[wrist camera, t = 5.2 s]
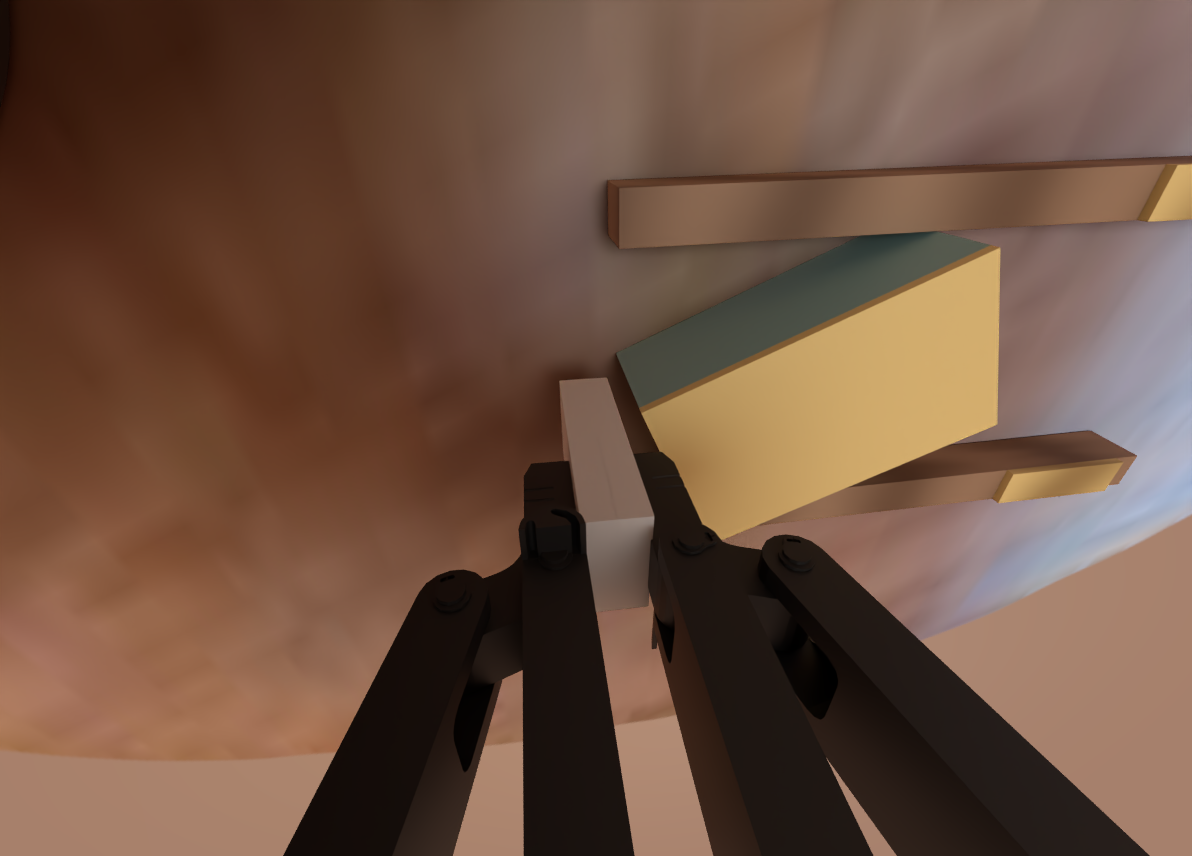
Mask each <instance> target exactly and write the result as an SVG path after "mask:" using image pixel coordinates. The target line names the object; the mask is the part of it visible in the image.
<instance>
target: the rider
mask: <svg viewBox="0 0 1192 856" xmlns="http://www.w3.org/2000/svg"><path fill="white" fill-rule="evenodd" d="M999 289H1000V247H996V246H992V245H988V244H984V243H980V242H976V241H972V240H968V239H965V238H961V237H957V236H953V235H949V234H945V233H941V232H937V231H931V232H913V233H895V234H877V235H861V236H859V237H857V238H855V239H853V240H851V241H849V242H847V243H845V244H842V245H840V246H838V247H836V248H834V249H832V250H830V251H828V252H826V253H824V254H822V255H820V256H817V257H815V258H813V259H811V260H809V261H807V262H805V263H803V264H801V265H799V266H797V267H794V268H792V269H790V270H788V271H786V272H784V273H782V274H780V275H778V276H776V277H774V278H772V279H769V280H767V281H765V282H763V283H761V284H759V285H757V286H755V287H753V288H751V289H749V290H747V291H744V292H742V293H740V294H738V295H736V296H734V297H732V298H730V299H728V300H726V301H724V302H721V303H719V304H717V305H715V306H713V307H711V308H709V309H707V310H705V311H703V312H701V313H699V314H696V315H694V316H692V317H690V318H688V319H686V320H684V321H682V322H680V323H678V324H676V325H674V326H671V327H669V328H667V329H665V330H663V331H661V332H659V333H657V334H655V335H653V336H651V337H648V338H646V339H644V340H642V341H640V342H638V343H636V344H634V345H632V346H630V347H628V348H626V349H623V350H621V351H619V352H617V353H616V354H617V357H618V359H619V362H620V364H621V366H622V369H623V371H624V373H625V376H626V378H627V380H628V383H629V385H630V388H631V390H632V392H633V395H634V397H635V399H636V402H637V404H638V406H639V409H640V411H641V413H642V416H643V418H644V420H645V422H646V424H647V426H648V428H649V430H650V432H651V434H652V436H653V438H654V441H655V443H656V445H657V447H658V449H659V451H660V452H663V453H664V454H665V455H666V456H667V457H669V458H670V459H671V460H672V461H674V463H675V465H676V467H677V469H678V472H679V474H680V477H681V478H682V480H683V482H684V486H685V487H686V489H687V491H688V493H689V496H690V498H691V500H692V502H693V504H694V506H695V509H696V511H697V513H698V515H699V517H700V520H701V522H702V524H703V525H705V526H707V527H708V528H710V529H712V530H713V531H715V533H716V534H717V535H718V536H719V538H720V539H721V540H723V539H726V538H728V537H730V536H733V535H735V534H738V533H740V532H742V531H745V530H747V529H749V528H752V527H754V526H757V525H759V524H761V523H764V522H766V521H769V520H771V519H773V518H776V517H778V516H780V515H783V514H785V513H788V512H790V511H792V510H795V509H797V508H799V507H802V506H804V505H807V504H809V503H811V502H814V501H816V500H819V499H821V498H823V497H826V496H828V495H830V494H833V493H835V492H838V491H840V490H842V489H845V488H847V487H849V486H852V485H854V484H857V483H859V482H861V481H864V480H866V479H869V478H871V477H873V476H876V475H878V474H880V473H883V472H885V471H888V470H890V469H892V468H895V467H897V466H899V465H902V464H904V463H907V462H909V461H911V460H914V459H916V458H919V457H921V456H923V455H926V454H928V453H930V452H933V451H935V450H938V449H940V448H942V447H945V446H947V445H949V444H952V443H954V442H957V441H959V440H961V439H964V438H966V437H969V436H971V435H973V434H976V433H978V432H980V431H983V430H985V429H988V428H990V427H992V426H995V425H997V404H998V346H999Z"/></svg>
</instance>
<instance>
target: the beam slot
mask: <svg viewBox="0 0 1192 856" xmlns="http://www.w3.org/2000/svg"><path fill="white" fill-rule="evenodd" d="M1186 219H1192V156H1177V157H1153V158H1129V159H1105V160H1081V161H1057V162H1033V163H1009V164H985V165H961V166H937V167H913V168H889V169H866V170H842V171H818V172H794V173H770V174H746V175H722V176H698V177H674V178H650V179H626V180H608V235H609V236H610V238H611V239H612V240H613V241H614V243H615V244H616V245H617V247H618V248H619V249H626V248H644V247H662V246H680V245H698V244H716V243H734V242H752V241H770V240H788V239H805V238H823V237H841V236H859V235H877V234H895V233H913V232H931V231H949V230H967V229H985V228H1002V227H1020V226H1038V225H1056V224H1074V223H1092V222H1110V221H1128V220H1140V221H1147V222H1151V221H1168V220H1186ZM1136 457H1137V455H1135V454H1133V453H1131V452H1129V451H1127V450H1126V449H1124V448H1122V447H1120V446H1118V445H1116V444H1114V443H1113V442H1111V441H1109V440H1107V439H1105V438H1103V437H1102V436H1100V435H1098V434H1096V433H1094V432H1092V431H1083V432H1073V433H1063V434H1053V435H1044V436H1034V437H1024V438H1014V439H1005V440H995V441H985V442H975V443H966V444H956V445H947V446H945V447H942V448H940V449H938V450H935V451H933V452H930V453H928V454H926V455H923V456H921V457H919V458H916V459H914V460H911V461H909V462H907V463H904V464H902V465H899V466H897V467H895V468H892V469H890V470H888V471H885V472H883V473H880V474H878V475H876V476H873V477H871V478H869V479H866V480H864V481H861V482H859V483H857V484H854V485H852V486H849V487H847V488H845V489H842V490H840V491H838V492H835V493H833V494H830V495H828V496H826V497H823V498H821V499H819V500H816V501H814V502H811V503H809V504H807V505H804V506H802V507H799V508H797V509H795V510H792V511H790V512H788V513H785V514H783V515H780V516H778V517H776V518H773V519H771V520H769V521H766V522H764V523H761V524H759V525H767V524H776V523H785V522H793V521H802V520H811V519H819V518H828V517H837V516H845V515H854V514H863V513H871V512H880V511H889V510H897V509H906V508H915V507H923V506H932V505H941V504H949V503H958V502H967V501H975V500H984V499H994V500H995V501H996V502H997V503H1004V502H1012V501H1021V500H1030V499H1038V498H1047V497H1055V496H1064V495H1073V494H1081V493H1090V492H1098V491H1105V489H1106V488H1107V486H1108V485H1114V484H1119V482H1120V481H1121V479H1122V478H1123V476H1124V475H1125V473H1126V472H1127V470H1128V469H1129V467H1130V466H1131V464H1132V463H1133V461H1134V460H1135V459H1136ZM759 525H757V526H759Z"/></svg>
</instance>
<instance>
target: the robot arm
mask: <svg viewBox="0 0 1192 856" xmlns="http://www.w3.org/2000/svg"><path fill="white" fill-rule="evenodd" d="M9 48H10V23H9V4H8V0H0V107H1V103H2V98H3V94H4V90H5V86H6V80H7V72H8V64H9ZM559 385H560V403H561V422H562V440H563V455H564V461H559V462H547V463H535V464H531V466H530V467H529V469H528V470H527V472H526V474H525V475H524V518H523V519H522V520H521V523H520V526H519V539H520V547H521V555H520V557H519V558H518V559H517V560H516V562H515V563H514V564H512V565H511V566H510V567H508V568H507V569H505V570H503V571H501V572H499V573H497V574H494V575H492V576H489V577H486V578H484V579H483V578H482V577H481V576H479V575H478V574H477V573H475V572H471V571H467V570H453V571H448V572H446V573H443V574H440V575H438V576H436V577H435V578H433V579H432V580H430V581H429V582H428V583H426V584H425V586H424V587H423V588H422V590H421V591H420V592H419V594H418V596H417V597H416V599H415V601H414V603H413V605H412V607H411V609H410V611H409V613H408V615H407V617H406V619H405V621H404V623H403V625H402V627H401V628H400V630H399V632H398V634H397V636H396V638H395V640H394V642H393V644H392V646H391V648H390V650H389V652H388V654H387V656H386V657H385V659H384V661H383V663H382V665H381V667H380V669H379V671H378V673H377V675H376V677H375V679H374V681H373V683H372V685H371V687H370V688H369V690H368V692H367V694H366V696H365V698H364V700H363V702H362V704H361V706H360V708H359V710H358V712H357V714H356V716H355V718H354V719H353V721H352V723H351V725H350V727H349V729H348V731H347V733H346V735H345V737H344V739H343V741H342V743H341V745H340V747H339V749H338V750H337V752H336V754H335V756H334V758H333V760H332V762H331V764H330V766H329V768H328V770H327V772H326V774H325V776H324V778H323V780H322V782H321V783H320V785H319V787H318V789H317V791H316V793H315V795H314V797H313V799H312V801H311V803H310V805H309V807H308V809H307V811H306V812H305V815H304V817H303V818H302V820H301V822H300V824H299V826H298V828H297V830H296V832H295V834H294V836H293V838H292V840H291V842H290V844H289V845H288V847H287V849H286V851H285V853H284V855H283V856H453V853H454V849H455V846H456V842H457V839H458V834H459V832H460V828H461V824H462V821H463V817H464V814H465V810H466V807H467V803H468V800H469V796H470V793H471V789H472V786H473V782H474V778H475V775H476V772H477V768H478V764H479V760H480V757H481V754H482V750H483V747H484V743H485V740H486V736H487V733H488V729H489V726H490V722H491V719H492V715H493V712H494V708H495V705H496V701H497V697H498V694H499V690H500V687H501V683H502V679H504V678H506V677H508V676H510V675H513V674H515V673H517V672H519V671H521V670H523V795H524V796H523V800H524V801H523V803H524V805H523V808H524V856H634V851H633V843H632V838H631V831H630V824H629V818H628V812H627V805H626V799H625V792H624V787H623V780H622V773H621V767H620V761H619V755H618V748H617V742H616V735H615V729H614V723H613V716H612V710H611V704H610V697H609V691H608V685H607V678H606V672H605V666H604V659H603V653H602V647H601V640H600V634H599V628H598V621H597V615H596V612H603V611H611V610H620V609H629V608H637V607H646V606H648V605H649V592H650V596H651V599H652V603H653V607H654V615H653V628H652V649H656V648H657V642H658V646H659V650H660V654H661V658H662V661H663V665H664V669H665V673H666V677H667V680H668V684H669V688H670V692H671V696H672V700H673V703H674V707H675V711H676V715H677V719H678V722H679V726H680V730H681V734H682V737H683V742H684V745H685V749H686V753H687V757H688V761H689V764H690V768H691V772H692V776H693V780H694V784H695V787H696V791H697V795H698V799H699V802H700V806H701V810H702V814H703V818H704V821H705V826H706V829H707V833H708V837H709V841H710V845H711V849H712V852H713V856H873V854H872V852H871V850H870V848H869V846H868V844H867V842H866V839H865V837H864V835H863V833H862V831H861V830H860V827H859V825H858V823H857V821H856V819H855V817H854V815H853V813H852V811H851V809H850V806H849V805H848V802H847V800H846V798H845V796H844V794H843V792H842V790H841V788H840V786H839V784H838V781H837V779H836V777H835V775H834V773H833V771H832V769H831V767H830V765H829V763H828V761H827V759H828V760H829V762H830V763H831V765H832V766H833V767H834V769H835V770H836V771H837V773H838V774H839V776H840V777H841V779H842V780H843V781H844V783H845V784H846V786H847V787H848V788H849V790H850V791H851V792H852V794H853V795H854V797H855V798H856V799H857V801H858V802H859V804H860V805H861V806H862V808H863V809H864V811H865V812H866V813H867V815H868V816H869V817H870V819H871V820H872V821H873V823H874V824H875V826H876V827H877V829H878V830H879V831H880V833H881V834H882V835H883V837H884V838H885V840H886V841H887V843H888V844H889V845H890V847H891V848H892V849H893V851H894V852H895V853H896V855H897V856H1149V855H1148V854H1147V853H1146V852H1145V851H1144V850H1143V849H1142V848H1141V847H1140V846H1139V845H1138V844H1137V843H1136V842H1135V841H1133V840H1132V839H1131V838H1130V837H1129V836H1128V835H1127V834H1126V833H1125V832H1124V831H1123V830H1122V829H1121V828H1120V827H1118V826H1117V825H1116V824H1115V823H1114V822H1113V821H1112V820H1111V819H1110V818H1109V817H1108V816H1107V815H1106V814H1105V813H1104V812H1102V811H1101V810H1100V809H1099V808H1098V807H1097V806H1096V805H1095V804H1094V803H1093V802H1092V801H1091V800H1090V799H1089V798H1087V797H1086V796H1085V795H1084V794H1083V793H1082V792H1081V791H1080V790H1079V789H1078V788H1077V787H1076V786H1075V785H1074V784H1073V783H1071V782H1070V781H1069V780H1068V779H1067V778H1066V777H1065V776H1064V775H1063V774H1062V773H1061V772H1060V771H1059V770H1058V769H1057V768H1055V767H1054V766H1053V765H1052V764H1051V763H1050V762H1049V761H1048V760H1047V759H1046V758H1045V757H1044V756H1042V755H1041V754H1040V753H1039V752H1038V751H1037V750H1036V749H1035V748H1034V747H1033V746H1032V745H1031V744H1030V743H1029V742H1028V741H1027V740H1026V739H1024V738H1023V737H1022V736H1021V735H1020V734H1019V733H1018V732H1017V731H1016V730H1015V729H1014V728H1013V727H1012V726H1011V725H1010V724H1008V723H1007V722H1006V721H1005V720H1004V719H1003V718H1002V717H1001V716H1000V715H999V714H998V713H996V711H995V710H994V709H992V708H991V707H990V706H989V705H988V704H987V703H986V702H985V701H984V700H983V699H982V698H981V697H980V696H979V695H977V694H976V693H975V692H974V691H973V690H972V689H971V688H970V687H969V686H968V685H967V684H966V683H965V682H964V681H963V680H961V679H960V678H959V677H958V676H957V675H956V674H955V673H954V672H953V671H952V670H951V669H950V668H949V667H948V666H946V665H945V664H944V663H943V662H942V661H941V660H940V659H939V658H938V657H937V656H936V655H935V654H934V653H933V652H932V651H930V650H929V649H928V648H927V647H926V646H925V645H924V644H923V643H922V642H921V641H920V640H919V639H918V638H917V637H916V636H914V635H913V634H912V633H911V632H910V631H909V630H908V629H907V628H906V627H905V626H904V625H903V624H902V623H901V622H900V621H898V620H897V619H896V618H895V617H894V616H893V615H892V614H891V613H890V612H889V611H888V610H887V609H886V608H885V607H883V606H882V605H881V604H880V603H879V602H878V601H877V600H876V599H875V598H874V597H873V596H872V595H871V594H870V593H869V592H867V591H866V590H865V589H864V588H863V587H862V586H861V585H860V584H859V583H858V582H857V581H856V580H855V579H854V578H853V577H851V576H850V575H849V574H848V573H847V572H846V571H845V570H844V569H843V568H842V567H841V566H840V565H839V564H838V563H836V562H835V561H834V560H833V559H832V558H831V557H830V556H829V555H828V554H827V553H826V552H825V551H824V550H823V549H821V548H820V547H819V546H817V545H816V544H814V543H813V542H812V541H809V540H807V539H804V538H802V537H799V536H793V535H779V536H774V537H772V538H770V539H769V540H767V541H766V542H765V544H764V546H763V547H762V550H759V549H752V548H745V547H739V546H734V545H730V544H727V543H725V542H722V541H721V539H720V538H719V536H718V535H717V534H716V533H715V531H713V530H712V529H710V528H708V527H707V526H705V525H703V524H702V522H701V520H700V517H699V515H698V513H697V511H696V509H695V506H694V504H693V502H692V500H691V498H690V496H689V493H688V491H687V489H686V487H685V486H684V482H683V480H682V478H681V477H680V474H679V472H678V469H677V467H676V465H675V463H674V461H672V460H671V459H670V458H669V457H667V456H666V455H665V454H664V453H663V452H653V453H640V454H633V452H632V449H631V446H630V444H629V441H628V438H627V435H626V432H625V429H624V426H623V423H622V420H621V417H620V414H619V412H618V409H617V406H616V403H615V400H614V397H613V394H612V391H611V388H610V385H609V382H608V380H607V377H606V378H591V379H575V380H560V381H559ZM826 758H827V759H826Z"/></svg>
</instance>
